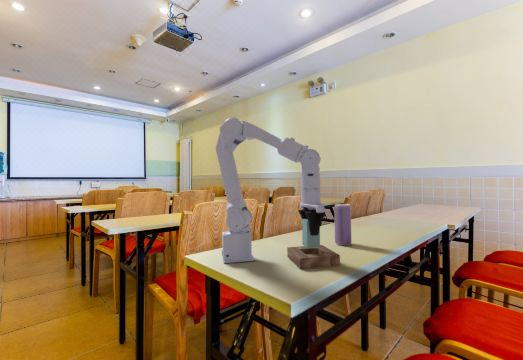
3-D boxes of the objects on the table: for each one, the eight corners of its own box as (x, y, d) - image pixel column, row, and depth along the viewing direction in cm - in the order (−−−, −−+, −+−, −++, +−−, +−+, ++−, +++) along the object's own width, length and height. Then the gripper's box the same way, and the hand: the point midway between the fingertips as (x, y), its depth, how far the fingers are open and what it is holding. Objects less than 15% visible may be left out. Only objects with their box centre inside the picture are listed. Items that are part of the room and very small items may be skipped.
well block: (300, 269, 71) (299, 258, 71) (287, 256, 83) (287, 247, 83) (339, 265, 73) (339, 255, 73) (322, 253, 85) (322, 244, 85)
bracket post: (307, 247, 76) (306, 220, 76) (302, 244, 80) (302, 218, 80) (319, 247, 76) (319, 220, 76) (314, 243, 80) (314, 218, 80)
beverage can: (348, 246, 93) (347, 205, 93) (332, 244, 97) (331, 204, 97) (353, 243, 98) (352, 204, 98) (338, 241, 102) (337, 203, 102)
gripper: (334, 189, 72) (335, 237, 72) (313, 187, 86) (314, 228, 86) (310, 190, 70) (311, 239, 70) (293, 188, 85) (294, 229, 85)
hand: (311, 233), depth 78 cm, fingers closed on bracket post, 4 cm apart
